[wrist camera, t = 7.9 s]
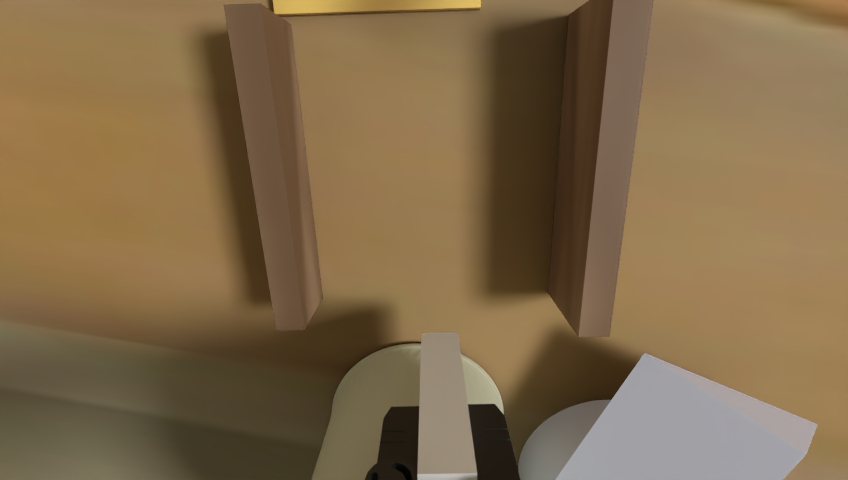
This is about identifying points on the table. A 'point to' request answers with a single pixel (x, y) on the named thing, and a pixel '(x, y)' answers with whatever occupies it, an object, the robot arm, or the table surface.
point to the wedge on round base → (667, 433)
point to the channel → (577, 158)
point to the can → (382, 407)
